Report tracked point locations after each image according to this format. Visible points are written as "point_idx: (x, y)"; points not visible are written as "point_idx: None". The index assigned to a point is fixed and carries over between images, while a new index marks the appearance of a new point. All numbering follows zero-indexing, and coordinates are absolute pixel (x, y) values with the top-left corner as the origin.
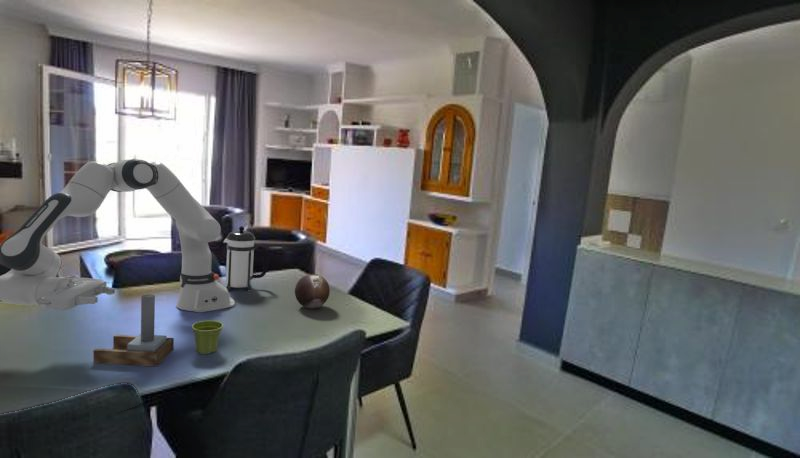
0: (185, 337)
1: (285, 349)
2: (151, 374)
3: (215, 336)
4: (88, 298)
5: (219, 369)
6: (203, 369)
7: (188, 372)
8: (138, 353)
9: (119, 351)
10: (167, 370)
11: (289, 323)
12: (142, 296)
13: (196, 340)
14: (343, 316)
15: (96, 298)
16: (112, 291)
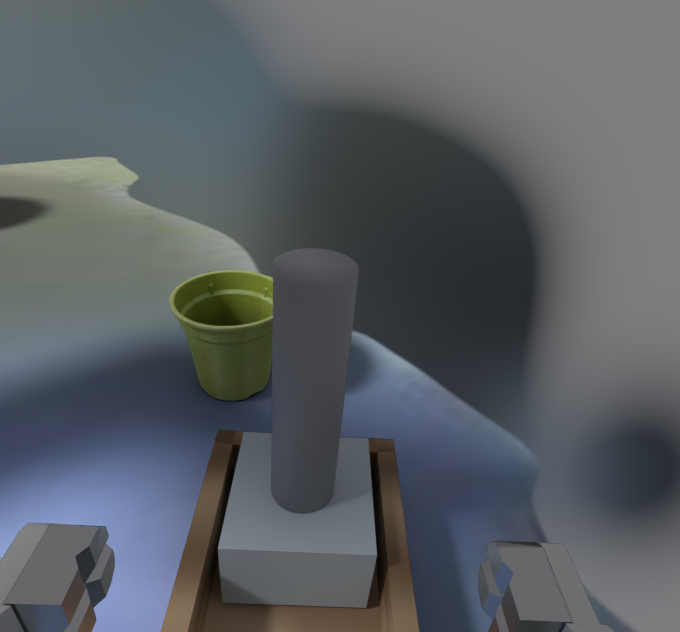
0: (73, 464)
1: (234, 258)
2: (452, 475)
3: (260, 307)
4: (596, 627)
5: (369, 338)
6: (377, 365)
7: (406, 390)
8: (401, 509)
9: (413, 598)
10: (408, 441)
11: (34, 253)
12: (329, 282)
13: (257, 359)
14: (25, 193)
15: (514, 544)
16: (106, 538)
